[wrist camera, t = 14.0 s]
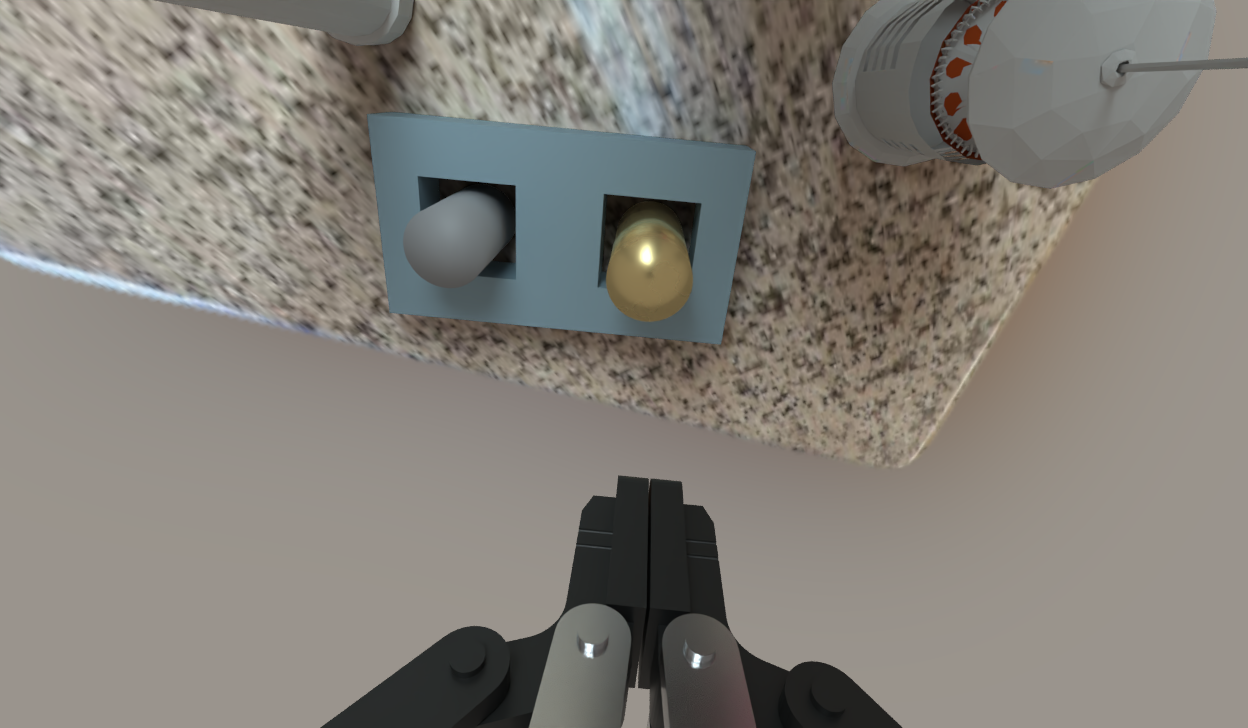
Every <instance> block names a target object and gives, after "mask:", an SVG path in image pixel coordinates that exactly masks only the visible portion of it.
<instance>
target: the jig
mask: <svg viewBox="0 0 1248 728" xmlns="http://www.w3.org/2000/svg"><path fill="white" fill-rule="evenodd" d="M367 120H368V128H369V137H370V146H371V154H372V163H373V172H374V180H375V189H376V198H377V206H378V215H379V224H380V232H381V241H382V250H383V258H384V267H385V275H386V284H387V293H388V301H389V310H390V313H398V314H408V315H419V316H429V317H440V318H450V319H460V320H471V321H481V322H492V323H502V324H513V325H523V326H533V327H544V328H554V329H565V330H575V331H586V332H596V333H606V334H617V335H627V336H638V337H648V338H659V339H669V340H679V341H690V342H700V343H711V344H721V341H722V336H723V330H724V325H725V319H726V314H727V308H728V303H729V297H730V292H731V286H732V281H733V275H734V270H735V264H736V259H737V254H738V248H739V243H740V237H741V232H742V226H743V221H744V215H745V210H746V204H747V199H748V193H749V188H750V182H751V177H752V171H753V166H754V160H755V155H756V151H754V150H753V149H751V148H749V147H748V146H743V145H733V144H723V143H712V142H702V141H691V140H681V139H671V138H660V137H650V136H639V135H629V134H618V133H608V132H598V131H587V130H577V129H566V128H556V127H546V126H535V125H525V124H514V123H504V122H493V121H483V120H473V119H462V118H452V117H441V116H431V115H421V114H410V113H400V112H386V113H374V114H367ZM439 178H443V179H454V180H464V181H475V182H485V183H495V184H506V185H516V211H515V208H514V206H513V204H512V202H511V201H510V199H509V198H508V197H507V196H506V195H505V194H504V193H503V192H502V191H500V190H499V189H497V188H495V187H493V186H490V185H487V184H474V185H470V186H468V187H466V188H464V189H462V190H460V191H458V192H456V193H454V194H452V195H451V196H449V197H447V198H445V199H443V200H441V201H440V189H439ZM607 194H610V195H620V196H631V197H641V198H652V199H662V200H672V201H683V202H693V203H696V206H695V213H694V220H693V227H692V234H691V241H690V248H689V260H690V264H691V269H692V274H693V286H692V291H691V293H690V296H689V298H688V300H687V302H686V303H685V305H684V306H683V307H682V308H681V309H680V310H679V311H678V312H677V313H675V314H674V315H672V316H670V317H668V318H666V319H663V320H660V321H654V322H644V321H639V320H635V319H632V318H630V317H628V316H626V315H625V314H623V313H622V312H621V311H620V310H619V309H618V308H617V307H616V306H615V305H614V304H613V302H612V300H611V299H610V296H609V294H608V291H607V286H606V275H607V272H603V271H602V262H603V247H604V233H605V218H606V204H607ZM515 231H516V263H509V262H498V261H492V260H493V259H494V257H495V256H496V255H497V254H498V253H499V252H500V251H501V250H502V249H503V248H504V247H505V246H506V245H507V243H508V242H509V241H510V240H511V239H512V237H513V235H514V234H515Z"/></svg>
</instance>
